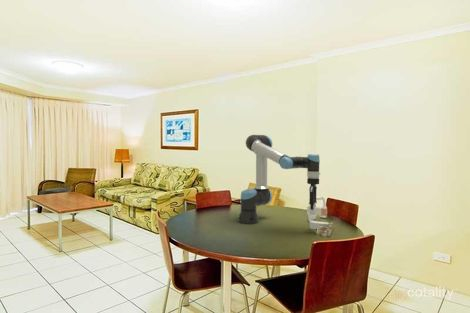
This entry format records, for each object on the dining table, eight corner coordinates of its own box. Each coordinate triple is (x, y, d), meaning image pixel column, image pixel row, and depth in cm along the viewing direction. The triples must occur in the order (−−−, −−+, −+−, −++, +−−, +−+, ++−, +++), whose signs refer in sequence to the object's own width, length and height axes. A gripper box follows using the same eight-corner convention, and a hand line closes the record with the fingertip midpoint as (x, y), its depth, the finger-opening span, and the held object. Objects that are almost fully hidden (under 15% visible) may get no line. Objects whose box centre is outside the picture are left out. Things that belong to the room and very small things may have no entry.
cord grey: (309, 228, 197) (309, 222, 197) (311, 227, 202) (311, 220, 201) (328, 231, 192) (328, 224, 192) (328, 229, 196) (329, 222, 196)
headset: (313, 223, 212) (314, 199, 211) (305, 221, 217) (306, 197, 217) (328, 219, 225) (329, 196, 224) (320, 217, 230) (321, 195, 230)
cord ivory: (306, 214, 188) (307, 207, 188) (308, 212, 193) (308, 206, 192) (326, 215, 183) (326, 208, 183) (327, 214, 188) (327, 207, 187)
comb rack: (316, 235, 183) (316, 227, 183) (321, 226, 202) (321, 220, 202) (329, 236, 180) (329, 229, 180) (333, 228, 199) (333, 221, 198)
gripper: (317, 179, 179) (316, 216, 180) (321, 176, 195) (320, 211, 196) (304, 178, 182) (304, 215, 183) (309, 176, 198) (309, 210, 199)
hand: (312, 213), depth 189 cm, fingers closed on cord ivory, 4 cm apart
